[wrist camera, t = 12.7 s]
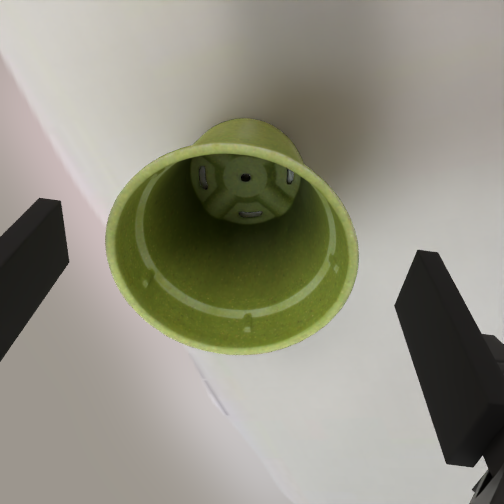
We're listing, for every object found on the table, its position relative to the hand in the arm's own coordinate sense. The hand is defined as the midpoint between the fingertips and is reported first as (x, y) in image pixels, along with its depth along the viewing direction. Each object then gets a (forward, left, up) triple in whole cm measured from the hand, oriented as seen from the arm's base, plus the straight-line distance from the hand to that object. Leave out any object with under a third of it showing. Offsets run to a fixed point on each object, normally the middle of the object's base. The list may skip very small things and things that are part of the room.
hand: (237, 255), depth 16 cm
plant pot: (0, 0, -9) cm, 9 cm away
